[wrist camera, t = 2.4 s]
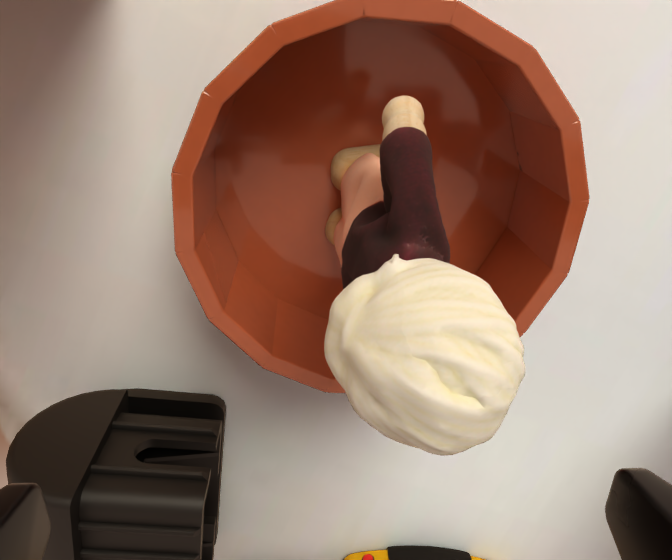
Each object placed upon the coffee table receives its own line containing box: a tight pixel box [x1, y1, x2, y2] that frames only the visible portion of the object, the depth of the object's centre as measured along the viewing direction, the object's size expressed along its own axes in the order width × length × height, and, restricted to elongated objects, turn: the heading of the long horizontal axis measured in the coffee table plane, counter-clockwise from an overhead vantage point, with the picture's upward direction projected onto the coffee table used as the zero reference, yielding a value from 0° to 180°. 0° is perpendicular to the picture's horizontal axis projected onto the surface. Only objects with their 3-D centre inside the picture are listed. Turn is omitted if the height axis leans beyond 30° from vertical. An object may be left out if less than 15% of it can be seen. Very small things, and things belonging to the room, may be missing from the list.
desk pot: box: [171, 0, 589, 393], centre depth 18 cm, size 12×12×4 cm
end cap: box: [6, 389, 226, 560], centre depth 22 cm, size 10×7×7 cm
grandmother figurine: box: [324, 95, 525, 455], centre depth 14 cm, size 8×4×13 cm, turn 3°
